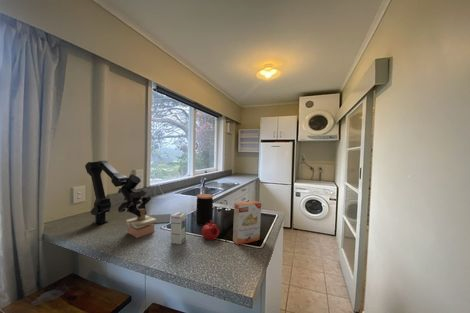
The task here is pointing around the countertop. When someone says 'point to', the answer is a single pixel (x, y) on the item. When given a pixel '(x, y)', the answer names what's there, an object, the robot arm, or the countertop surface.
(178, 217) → the syrup box
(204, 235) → the pomegranate
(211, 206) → the coffee jar
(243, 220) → the cracker box
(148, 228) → the storage box
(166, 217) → the mat
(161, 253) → the countertop surface
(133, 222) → the lid
